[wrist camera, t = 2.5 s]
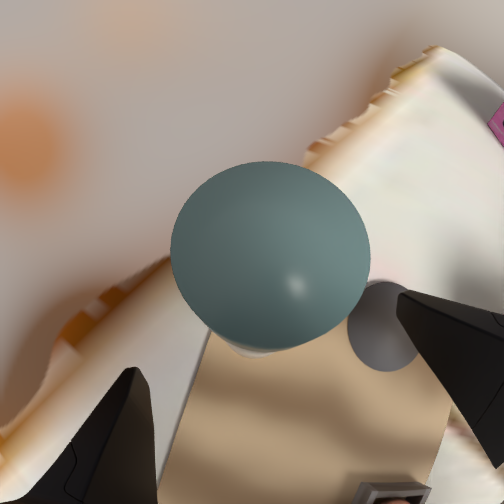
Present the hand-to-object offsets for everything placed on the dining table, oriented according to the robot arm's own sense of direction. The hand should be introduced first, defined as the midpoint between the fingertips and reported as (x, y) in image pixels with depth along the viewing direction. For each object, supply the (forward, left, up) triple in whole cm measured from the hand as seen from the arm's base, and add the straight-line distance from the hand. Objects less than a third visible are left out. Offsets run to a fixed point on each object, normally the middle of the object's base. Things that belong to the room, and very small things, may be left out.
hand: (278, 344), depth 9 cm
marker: (+2, +1, -9) cm, 9 cm away
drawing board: (-3, -6, -10) cm, 12 cm away
